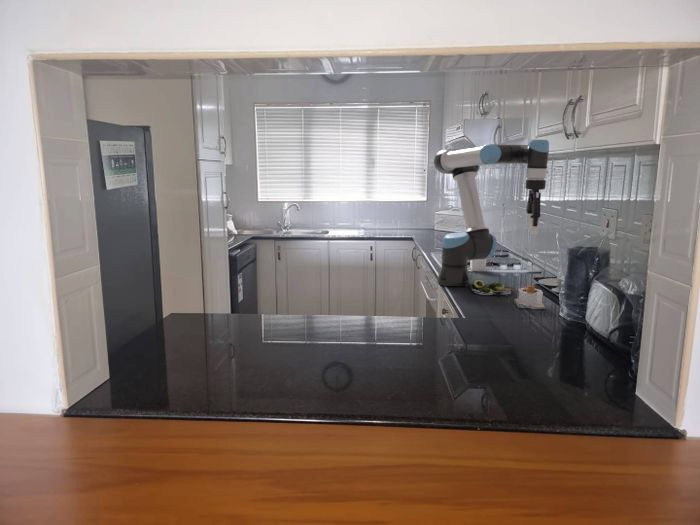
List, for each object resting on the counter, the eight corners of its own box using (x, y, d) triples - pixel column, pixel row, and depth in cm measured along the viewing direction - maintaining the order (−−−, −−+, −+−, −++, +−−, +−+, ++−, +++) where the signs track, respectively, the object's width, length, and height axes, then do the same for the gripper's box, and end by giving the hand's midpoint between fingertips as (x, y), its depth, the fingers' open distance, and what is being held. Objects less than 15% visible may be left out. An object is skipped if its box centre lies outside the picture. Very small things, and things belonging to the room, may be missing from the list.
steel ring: (519, 305, 197) (520, 293, 196) (516, 299, 206) (517, 287, 205) (543, 306, 196) (544, 294, 195) (538, 300, 204) (539, 288, 203)
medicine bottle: (483, 268, 269) (484, 246, 266) (485, 271, 262) (487, 248, 259) (469, 268, 269) (471, 245, 267) (471, 270, 262) (473, 248, 260)
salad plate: (511, 287, 231) (511, 277, 230) (520, 298, 213) (520, 287, 212) (468, 286, 232) (468, 276, 232) (473, 296, 215) (474, 286, 214)
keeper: (517, 308, 197) (519, 288, 195) (514, 301, 207) (515, 282, 205) (544, 310, 195) (546, 290, 194) (540, 302, 205) (541, 283, 203)
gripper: (551, 181, 189) (546, 237, 194) (540, 177, 213) (536, 227, 218) (530, 180, 191) (525, 236, 196) (522, 177, 215) (518, 226, 219)
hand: (531, 231), depth 207 cm, fingers open, 13 cm apart
